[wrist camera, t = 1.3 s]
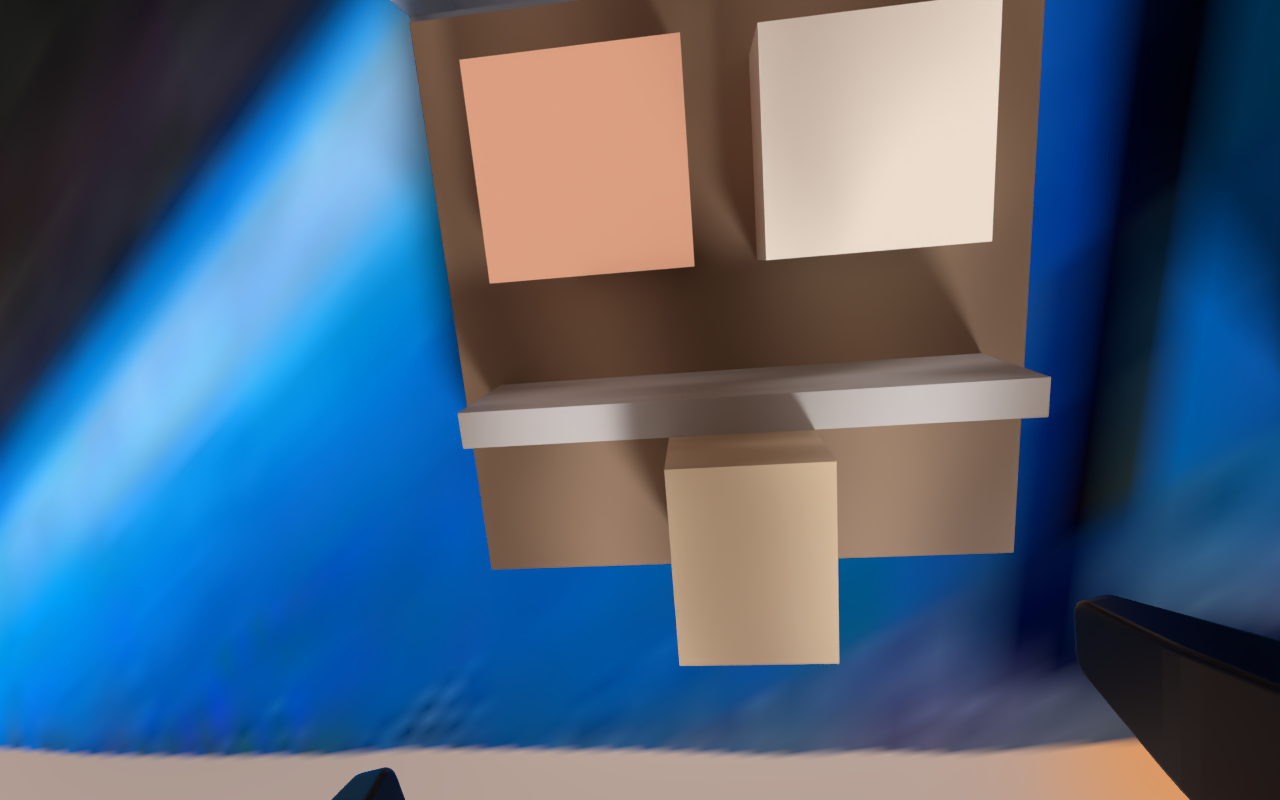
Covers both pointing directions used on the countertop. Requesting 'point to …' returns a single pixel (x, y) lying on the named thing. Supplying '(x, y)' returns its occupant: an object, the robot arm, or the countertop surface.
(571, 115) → the tile terracotta
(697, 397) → the scraper
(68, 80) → the countertop surface
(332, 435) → the countertop surface
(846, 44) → the tile cream
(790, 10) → the brown square tray
